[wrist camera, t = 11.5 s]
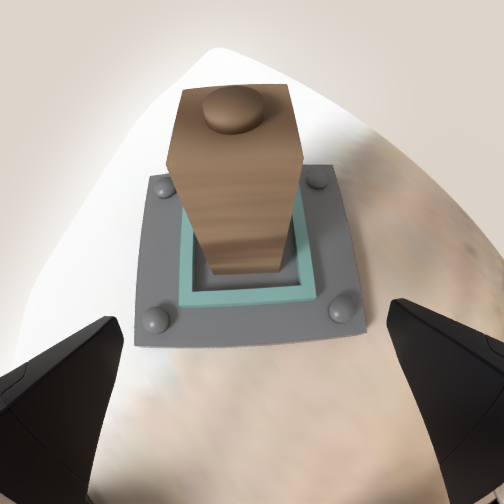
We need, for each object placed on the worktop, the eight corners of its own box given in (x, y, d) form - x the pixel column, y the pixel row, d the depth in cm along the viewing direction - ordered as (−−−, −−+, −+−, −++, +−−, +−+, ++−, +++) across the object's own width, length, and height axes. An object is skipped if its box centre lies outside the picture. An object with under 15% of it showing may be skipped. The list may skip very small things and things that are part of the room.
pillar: (278, 272, 21) (306, 142, 9) (213, 275, 21) (160, 150, 9) (273, 216, 23) (288, 71, 11) (214, 218, 23) (180, 77, 11)
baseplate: (141, 347, 21) (129, 344, 18) (154, 184, 27) (146, 169, 24) (360, 334, 21) (371, 330, 19) (329, 174, 27) (334, 158, 25)
